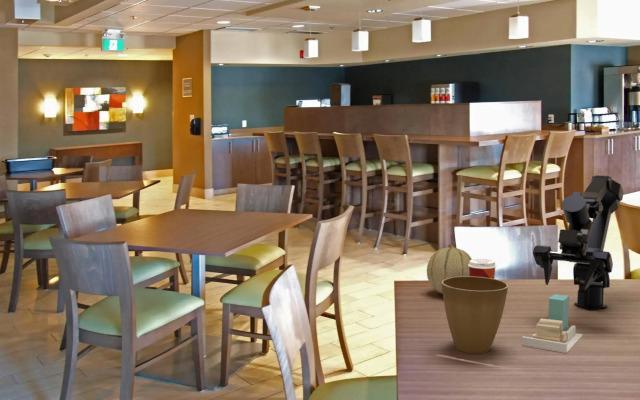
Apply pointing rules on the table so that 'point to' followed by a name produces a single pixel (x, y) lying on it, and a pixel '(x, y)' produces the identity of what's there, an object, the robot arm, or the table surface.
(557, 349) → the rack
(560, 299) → the teal rectangular block
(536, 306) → the table surface
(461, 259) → the cantaloupe
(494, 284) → the plant pot
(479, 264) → the paper cup
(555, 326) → the offcut upper
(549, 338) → the offcut lower
